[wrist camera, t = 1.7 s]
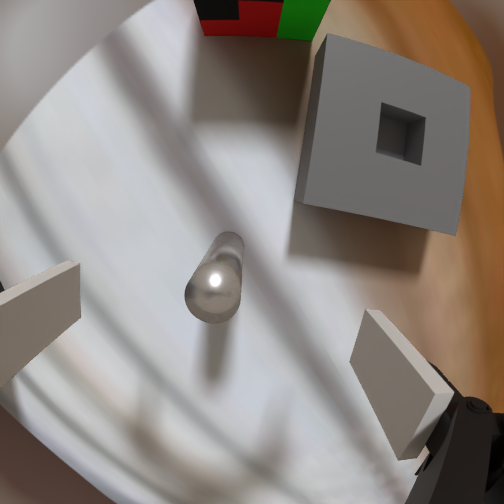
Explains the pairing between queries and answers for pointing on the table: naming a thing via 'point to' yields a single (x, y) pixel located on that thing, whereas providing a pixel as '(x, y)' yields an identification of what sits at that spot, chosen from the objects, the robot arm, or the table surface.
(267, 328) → the table surface
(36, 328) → the robot arm
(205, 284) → the pin
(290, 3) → the puzzle toy
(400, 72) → the socket block
